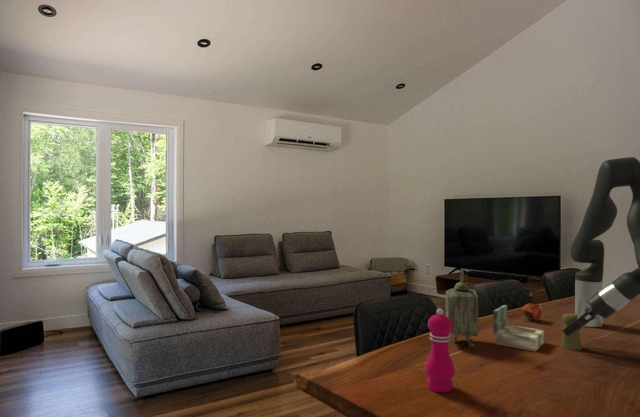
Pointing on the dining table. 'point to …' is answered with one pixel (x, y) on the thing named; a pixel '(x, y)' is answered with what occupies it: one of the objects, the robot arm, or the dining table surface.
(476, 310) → the tabletop clock
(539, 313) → the pomegranate
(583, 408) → the dining table surface
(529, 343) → the stand
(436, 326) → the pepper mill
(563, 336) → the cork
